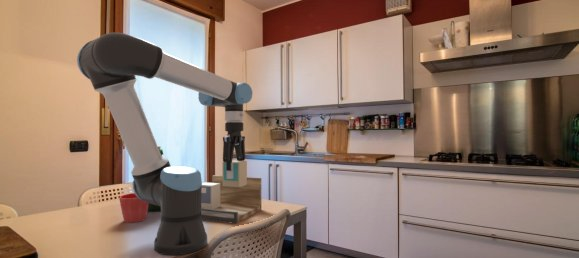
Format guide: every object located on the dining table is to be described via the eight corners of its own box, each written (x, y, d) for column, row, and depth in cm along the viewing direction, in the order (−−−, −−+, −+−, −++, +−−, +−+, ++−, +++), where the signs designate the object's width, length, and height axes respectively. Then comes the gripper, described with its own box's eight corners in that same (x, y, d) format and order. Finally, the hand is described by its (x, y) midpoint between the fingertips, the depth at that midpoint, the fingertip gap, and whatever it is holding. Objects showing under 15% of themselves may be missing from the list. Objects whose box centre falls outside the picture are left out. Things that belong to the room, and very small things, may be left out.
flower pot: (112, 221, 116) (113, 196, 116) (138, 214, 126) (138, 191, 126) (130, 225, 111) (130, 199, 111) (155, 218, 121) (156, 193, 121)
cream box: (211, 209, 125) (211, 185, 125) (195, 208, 128) (195, 184, 128) (220, 206, 131) (220, 183, 131) (205, 204, 134) (205, 182, 134)
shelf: (236, 223, 113) (235, 186, 113) (182, 216, 122) (182, 182, 122) (261, 209, 133) (261, 178, 133) (213, 204, 142) (213, 175, 142)
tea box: (222, 186, 124) (222, 161, 124) (230, 183, 130) (230, 160, 130) (239, 187, 121) (239, 162, 121) (246, 184, 127) (246, 161, 127)
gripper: (229, 121, 115) (229, 181, 115) (253, 122, 133) (253, 174, 133) (212, 121, 118) (213, 180, 118) (238, 122, 136) (238, 173, 136)
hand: (234, 177), depth 125 cm, fingers closed on tea box, 6 cm apart
